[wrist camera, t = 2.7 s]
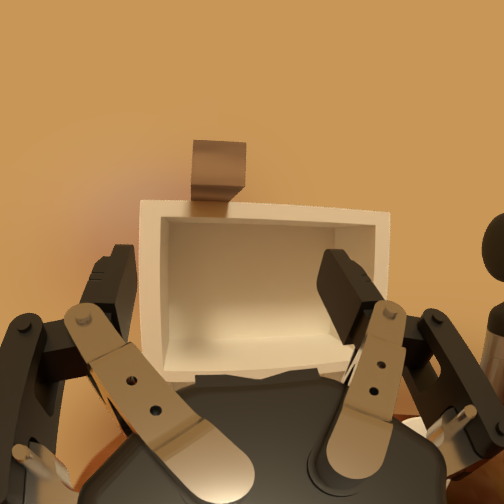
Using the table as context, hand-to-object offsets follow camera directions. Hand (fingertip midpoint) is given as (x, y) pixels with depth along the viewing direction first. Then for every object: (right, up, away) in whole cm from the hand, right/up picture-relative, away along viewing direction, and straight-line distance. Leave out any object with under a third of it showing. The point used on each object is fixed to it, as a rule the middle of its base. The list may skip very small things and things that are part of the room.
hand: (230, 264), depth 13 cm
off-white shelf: (+1, -27, +24) cm, 36 cm away
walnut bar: (-3, +5, +18) cm, 19 cm away
